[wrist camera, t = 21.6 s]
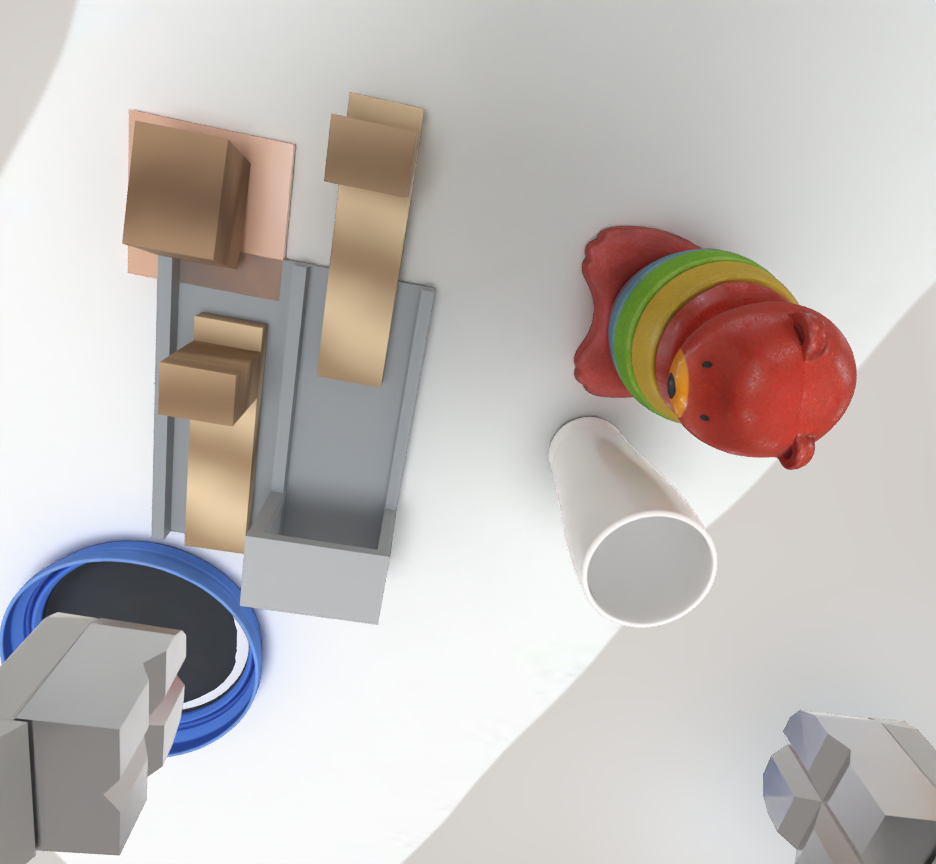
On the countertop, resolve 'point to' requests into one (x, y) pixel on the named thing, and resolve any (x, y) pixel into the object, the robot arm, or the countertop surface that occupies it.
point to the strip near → (367, 233)
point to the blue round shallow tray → (154, 621)
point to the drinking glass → (628, 528)
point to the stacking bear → (712, 345)
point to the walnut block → (186, 195)
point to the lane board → (301, 440)
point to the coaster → (262, 207)
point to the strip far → (218, 424)
